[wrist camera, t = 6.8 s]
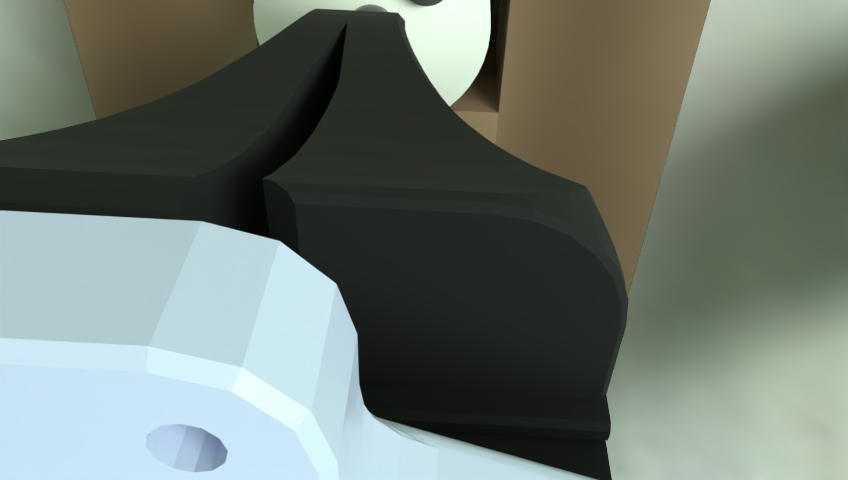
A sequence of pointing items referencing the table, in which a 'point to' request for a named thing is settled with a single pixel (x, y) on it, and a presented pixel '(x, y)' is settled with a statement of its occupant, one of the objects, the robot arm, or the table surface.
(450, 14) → the button three
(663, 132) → the button board
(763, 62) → the table surface
